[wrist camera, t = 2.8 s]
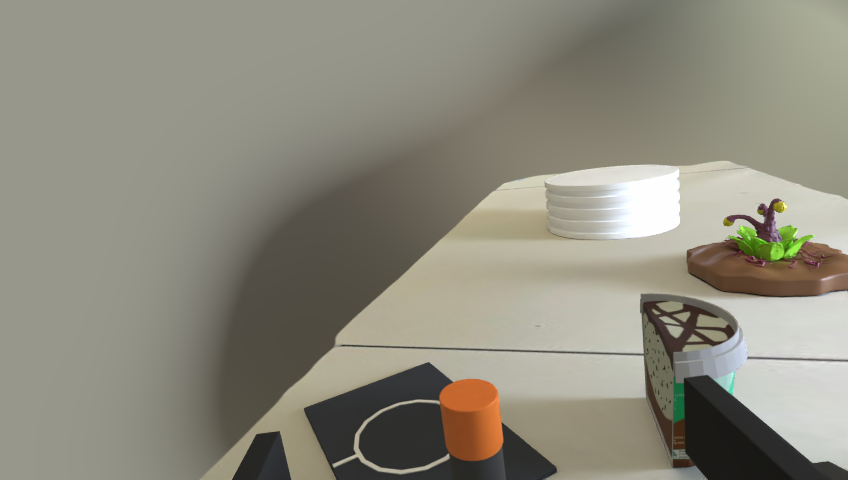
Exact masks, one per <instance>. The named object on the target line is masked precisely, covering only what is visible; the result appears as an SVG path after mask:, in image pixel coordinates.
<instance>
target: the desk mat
mask: <svg viewBox="0 0 848 480" xmlns="http://www.w3.org/2000/svg"><path fill="white" fill-rule="evenodd" d="M451 383H454V382H452V381H451V380H450V379H449V378H447V377H446V376H445V375H444V374H443V373H441V372H440V371H439V370H438V369H437V368H435V367H434V366H433V365H432V364H430V363H429V362H428V363H425V364H422V365H420V366H417V367H414V368H412V369H409V370H406V371H403V372H401V373H398V374H395V375H393V376H390V377H387V378H384V379H382V380H379V381H376V382H374V383H371V384H368V385H365V386H363V387H360V388H357V389H355V390H352V391H349V392H347V393H344V394H341V395H338V396H336V397H333V398H330V399H328V400H325V401H322V402H319V403H317V404H314V405H311V406H309V407H306V408H304V411H305V413H306V415H307V417H308V419H309V421H310V424H311V426H312V428H313V430H314V432H315V434H316V436H317V438H318V440H319V443H320V445H321V447H322V449H323V451H324V453H325V455H326V457H327V459H328V461H329V464H330V466H331V468H332V470H333V472H334V474H335V476H336V478H337V480H453V478H452V471H451V464H450V458H449V451H448V450H447V447H446V442H445V436H444V429H443V422H442V415H441V408H440V401H439V396H440V393H441V391H442V390H443V389H444V388H445V387H446V386H448V385H449V384H451ZM501 424H502V433H503V444H502V449H503V457H504V466H505V475H506V480H542V479H544V478H546V477H548V476H550V475H551V474H553V473H555V472H557V468H556V467H555V466H554V465H553V464H552V463H551V462H549V461H548V460H547V459H546V458H544V457H543V456H542V455H541V454H540V453H538V452H537V451H536V450H535V449H534V448H532V447H531V446H530V445H529V444H527V443H526V442H525V441H524V440H523V439H521V438H520V437H519V436H518V435H517V434H515V433H514V432H513V431H512V430H510V429H509V428H508V427H507V426H506V425H504V424H503V423H502V422H501Z"/></svg>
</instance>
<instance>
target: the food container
mask: <svg viewBox="0 0 848 480" xmlns="http://www.w3.org/2000/svg"><path fill="white" fill-rule="evenodd" d="M640 313H642V330H643V348H644V366H645V384H646V398H647V401H648V403H649V406H650V409H651V411H652V414H653V416H654V419H655V422H656V424H657V427H658V430H659V432H660V435H661V438H662V440H663V443H664V446H665V448H666V451H667V454H668V456H669V459H670V461H671V464H672V467H691V466H695V464H694V463H693V461H692V460H691V459H690V458H689V456H688V455H687V454H686V453H685V416H684V378H687V377H694V376H702V375H709V376H710V377H711V378H712V379H713V380H715V381H716V382H717V383H718V384H719V385H721V386H722V387H723V388H724V389H725V390H726V391H728V392H729V393H730V394H731V395H732V394H733V385H734V376H735V370H737V369H738V368H740V367H741V366H742V365H743V364H744V362H745V360H746V359H747V348H746V345H745V341H744V337H743V333H742V330H741V328H740V327H739V325H738V323H737V321H736V319H735V318H734V316H732V315H731V314H730V313H729V312H727V311H726V310H724V309H722V308H721V307H718V306H716V305H714V304H711V303H708V302H705V301H702V300H698V299H695V298H690V297H685V296H678V295H670V294H641V299H640Z"/></svg>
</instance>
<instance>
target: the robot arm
mask: <svg viewBox="0 0 848 480" xmlns="http://www.w3.org/2000/svg"><path fill="white" fill-rule="evenodd" d="M684 416H685V453H686V454H687V455H688V456H689V458H690V459H691V460H692V461H693V463H694V464H695V465H696V466H697V467H698V469H699V470H700V471H701V472H702V473H703V475H704V476H705V477H706V478H707V479H708V480H848V471H846V470H844V469H842V468H840V467H838V466H837V465H835V464H833V463H831V462H829V461H827V462H819V463H812V462H810V461H809V460H808V459H807V458H806V457H805V456H803V455H802V454H801V453H800V452H799V451H797V450H796V449H795V448H794V447H793V446H792V445H790V444H789V443H788V442H787V441H786V440H784V439H783V438H782V437H781V436H780V435H779V434H777V433H776V432H775V431H774V430H773V429H771V428H770V427H769V426H768V425H767V424H766V423H764V422H763V421H762V420H761V419H760V418H758V417H757V416H756V415H755V414H754V413H752V412H751V411H750V410H749V409H748V408H747V407H745V406H744V405H743V404H742V403H741V402H739V401H738V400H737V399H736V398H735V397H734V396H732V395H731V394H730V393H729V392H728V391H726V390H725V389H724V388H723V387H722V386H721V385H719V384H718V383H717V382H716V381H715V380H713V379H712V378H711V377H710V376H709V375H702V376H694V377H687V378H684ZM232 480H291V477H290V473H289V469H288V464H287V460H286V456H285V452H284V447H283V443H282V439H281V435H280V431H277V432H270V433H262V434H256V436H255V438H254V440H253V442H252V444H251V445H250V447H249V449H248V451H247V453H246V455H245V457H244V458H243V460H242V462H241V464H240V466H239V468H238V470H237V472H236V473H235V475H234V477H233V479H232Z"/></svg>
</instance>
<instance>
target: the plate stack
mask: <svg viewBox="0 0 848 480" xmlns="http://www.w3.org/2000/svg"><path fill="white" fill-rule="evenodd" d="M678 176H679V169H678V168H676V167H673V166H665V165H628V166H615V167H603V168H595V169H587V170H580V171H574V172H568V173H564V174H559V175H556V176H552V177H550V178H548V179H546V180H545V187H546V188H547V190H546V192H545V193H546V198H547V199H548V201H547V202H546V206H547V209H548V210H549V211H548V212H547V218H548V220H549V222H548V229H549V231H550V232H551V233H553V234H555V235H558V236H562V237H567V238H574V239H586V240H614V239H627V238H636V237H643V236H649V235H654V234H658V233H662V232H665V231H668V230H671V229H673V228H675V227H676V226H677V225H678V224H679V222H680V219H679V215H678V212H679V203H678V200H679V192H678V191H676V190H677V189H678V188H679V181H678V180H677V179H675V178H677V177H678Z"/></svg>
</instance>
